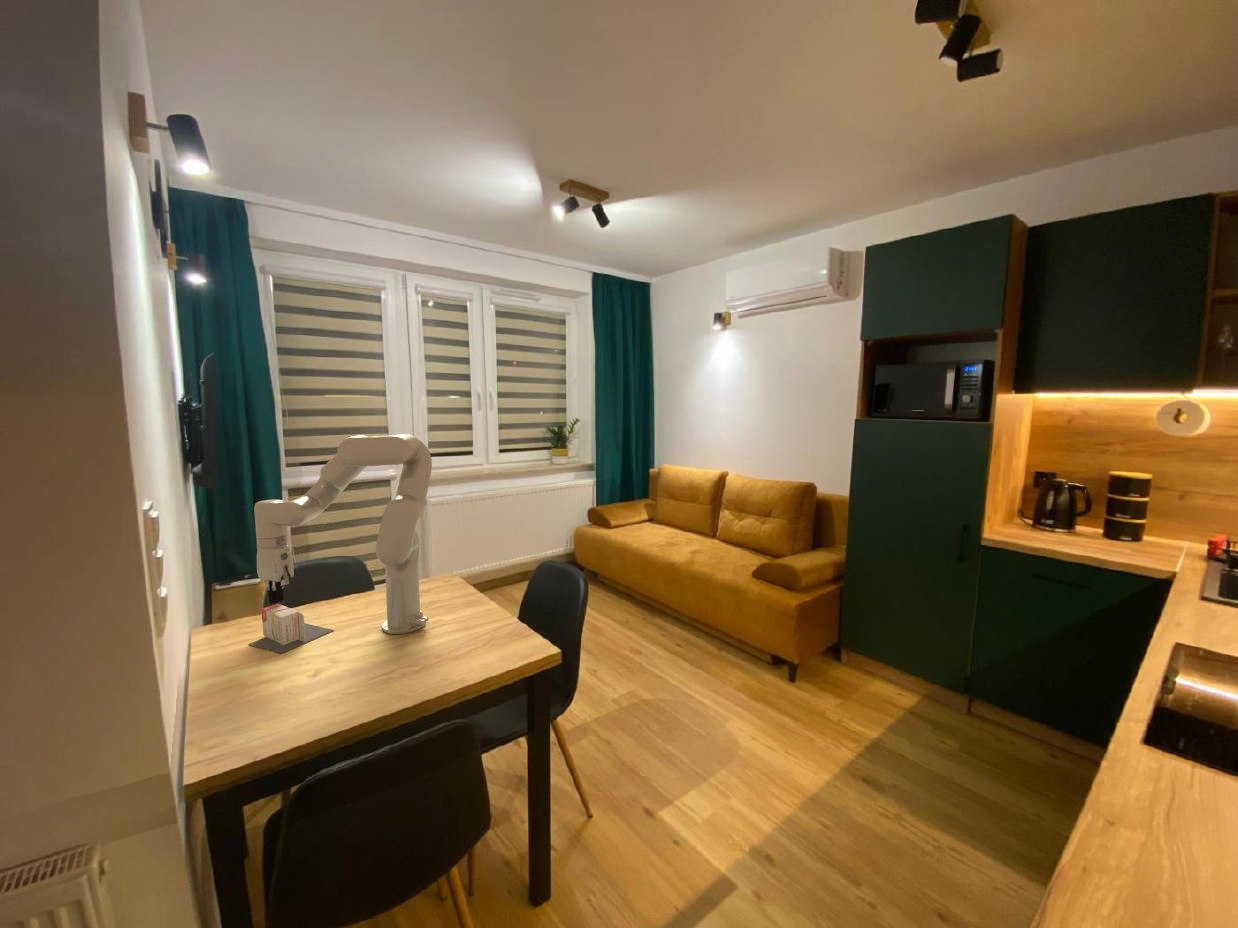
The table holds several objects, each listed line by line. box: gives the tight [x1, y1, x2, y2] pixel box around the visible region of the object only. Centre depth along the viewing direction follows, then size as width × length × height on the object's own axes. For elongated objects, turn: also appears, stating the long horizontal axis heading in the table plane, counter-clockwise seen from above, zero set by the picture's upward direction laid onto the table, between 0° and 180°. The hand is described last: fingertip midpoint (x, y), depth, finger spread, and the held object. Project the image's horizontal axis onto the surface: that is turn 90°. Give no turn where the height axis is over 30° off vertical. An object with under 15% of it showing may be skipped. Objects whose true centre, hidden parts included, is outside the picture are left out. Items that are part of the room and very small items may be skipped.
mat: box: [247, 622, 335, 655], centre depth 147 cm, size 14×16×1 cm
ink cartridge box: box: [261, 603, 305, 645], centre depth 145 cm, size 9×5×15 cm
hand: (276, 601), depth 148 cm, fingers closed
